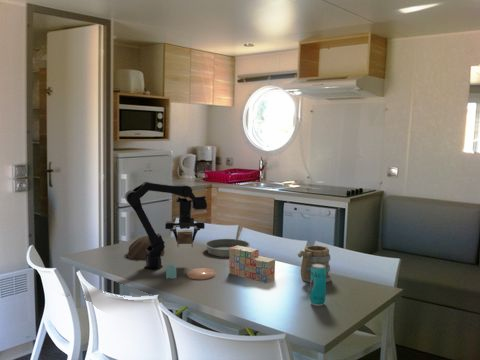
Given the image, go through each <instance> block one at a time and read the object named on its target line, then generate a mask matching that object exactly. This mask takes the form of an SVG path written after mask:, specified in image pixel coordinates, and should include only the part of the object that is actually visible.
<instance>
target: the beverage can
mask: <svg viewBox="0 0 480 360" xmlns="http://www.w3.org/2000/svg"><path fill="white" fill-rule="evenodd" d="M325 267H326V266H325V265H323V264H313V265H312V268H311V282H309V283H310V288H309V289H310V291H309V292H310V293H309V300H310V302H311V305H312V306H315V307H321V306H324V304H325V302H326V294H327V293H326V290H327V287H326V286H327V282H326V268H325Z"/></svg>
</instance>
